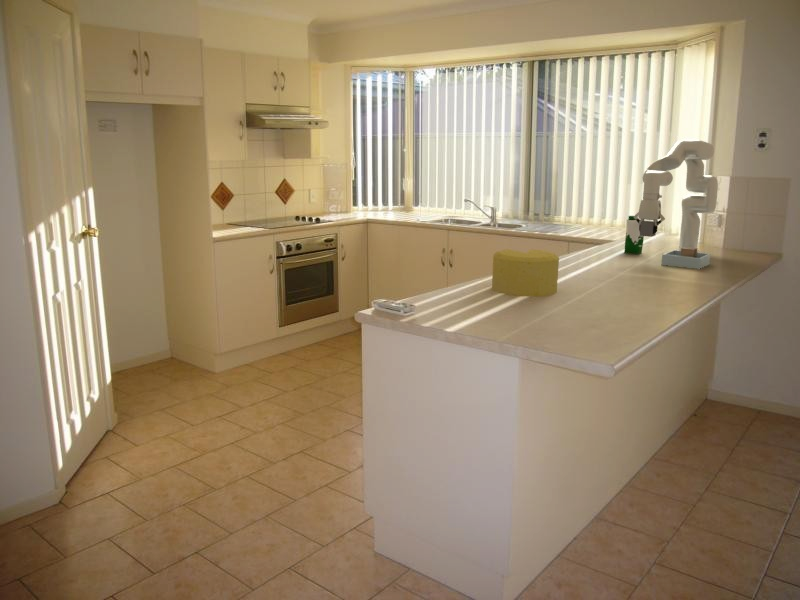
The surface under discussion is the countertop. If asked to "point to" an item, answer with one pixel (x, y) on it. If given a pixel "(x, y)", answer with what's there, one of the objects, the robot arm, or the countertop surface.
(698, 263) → the bin
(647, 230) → the charcoal block
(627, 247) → the soya milk
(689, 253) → the walnut block
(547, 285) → the cheese
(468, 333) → the countertop surface
